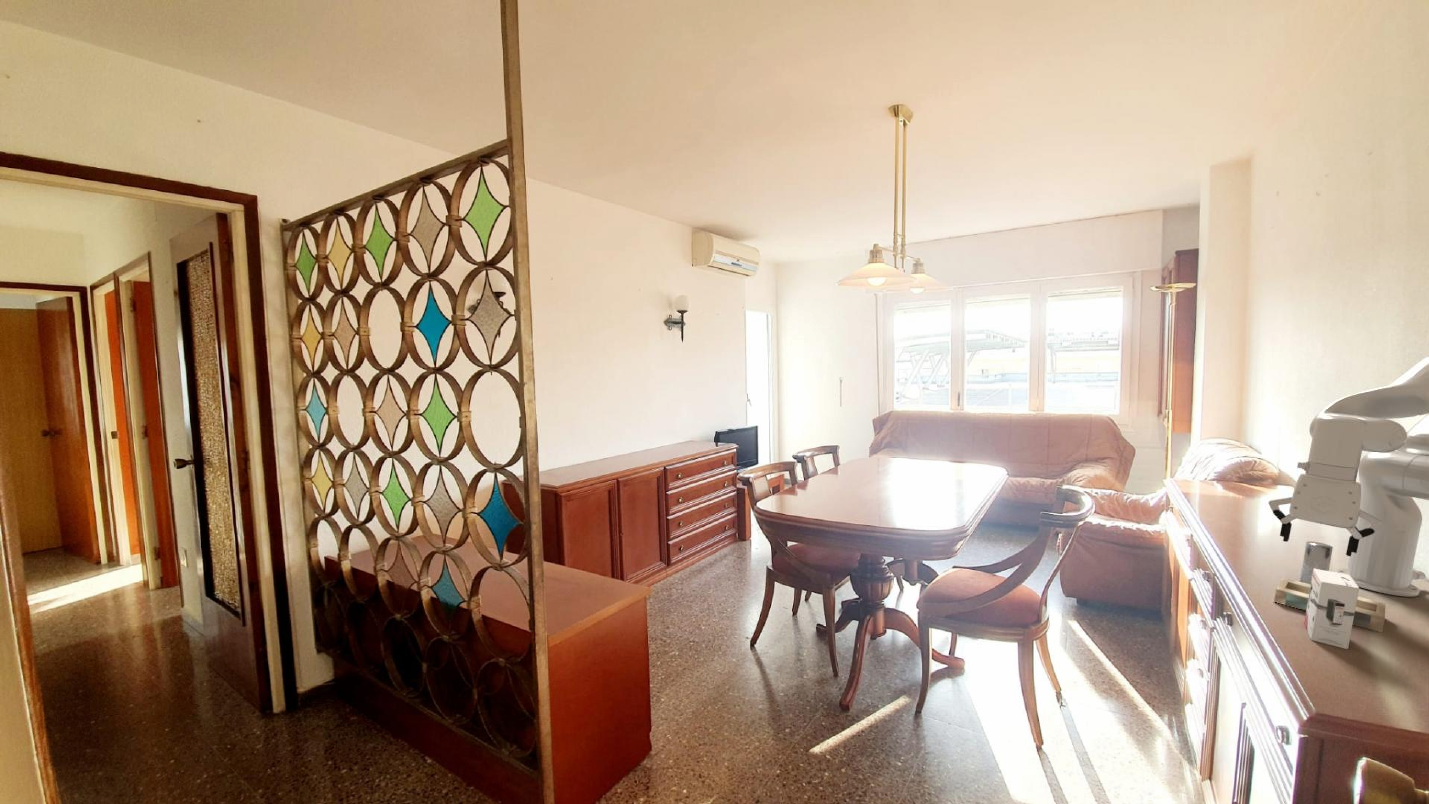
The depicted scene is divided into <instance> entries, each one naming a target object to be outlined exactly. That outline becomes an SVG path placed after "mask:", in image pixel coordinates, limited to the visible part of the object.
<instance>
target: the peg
mask: <svg viewBox="0 0 1429 804" xmlns="http://www.w3.org/2000/svg"><path fill="white" fill-rule="evenodd" d="M1305 543H1306V544H1305V550H1304V555H1303V560H1302V565H1301V566H1302V567H1301V573H1300V578H1299V582H1303V583H1307V584H1311V581H1312V576H1313V569H1314V568H1315V569H1320V570H1325V571H1330V565H1331V560H1332V554H1333V550H1334V547H1333V546H1332V545H1329V544H1326V543H1324V542H1319V541H1311V540H1310V541H1306V542H1305Z"/></svg>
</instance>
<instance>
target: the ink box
mask: <svg viewBox="0 0 1429 804" xmlns="http://www.w3.org/2000/svg"><path fill="white" fill-rule="evenodd" d="M1359 592H1360V587H1358V586H1357V584H1356V583H1355V581H1354V580H1353V579H1352V577H1351V576H1350V575H1348V574H1343V573H1337V571H1331V570H1329V571H1325V570H1320V569H1315V568H1314V569H1313V576H1312V581H1311V587H1310V593H1309V599H1308V604H1307V610H1306V611H1305V615H1304V621H1303V624H1304V626H1305V629H1306V632H1307V633H1308V635H1309V638H1310V639H1311V641H1315V642H1319V643H1321V644H1326V645H1330V646H1333V647H1337V648H1341V649H1345V650H1348V649H1349V647H1350V646H1349V644H1350V640H1351V634H1352V629H1353V628H1352V627H1353V619H1354V613H1355V608H1356V603H1357V598H1358V597H1359Z"/></svg>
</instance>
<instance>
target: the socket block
mask: <svg viewBox="0 0 1429 804" xmlns="http://www.w3.org/2000/svg"><path fill="white" fill-rule="evenodd" d="M1310 587H1311V584H1307V583H1303V582H1300V580H1299V581H1298V580H1294V579H1290V578H1287V577H1282V578H1281V579H1280V581H1279V583H1278V585H1277V587H1276V589H1275V594H1274V598H1273V599H1274V601H1273V603H1274V602H1277V603H1276V604H1278V603H1284V604H1285V605H1287V606H1286V607H1289V606H1293V607H1295V608H1294V609H1296V608H1298V609H1297V610H1299V609H1303V610H1307V604H1308V599H1309V593H1310ZM1285 605H1284V606H1285ZM1386 607H1387V603H1385V602H1382V601H1377V600H1374V599H1371V598H1370V599H1369V598H1365V597H1362V596H1358V598H1357V603H1356V608H1355V613H1354V619H1353V624H1352V626H1357V627H1361V628H1363V629H1368V630H1372V631H1375V632H1378V633H1383V630H1384V624H1385V620H1386ZM1303 610H1302V611H1303Z"/></svg>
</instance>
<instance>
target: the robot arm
mask: <svg viewBox="0 0 1429 804" xmlns="http://www.w3.org/2000/svg"><path fill="white" fill-rule="evenodd" d="M1421 416H1424V417H1423V418H1422V419H1420V420H1419V421H1418V422H1417V423H1416V424H1415V425H1413V426H1412V427H1411V428H1410V429H1409V430H1408V431H1407V430H1406V429H1405V427H1404V426H1403V425H1402V424H1400V423H1399V422H1397V421H1395V420H1392V419H1402V418H1403V419H1404V418H1414V417H1421ZM1309 435H1310V437H1311V443H1310V447H1309V448H1310V449H1309V453H1308V460H1307V461H1305V462H1304V461H1303V462H1298V463H1297V469H1301V470H1304V471H1305V473H1301V474H1300V475H1299V477H1298V479H1297V481H1296V483H1295V486H1294V488H1293V493H1292V496H1290V497H1289V496H1288V497H1283V498H1277V499H1271V500H1269V501H1268V505H1269V507H1270V509H1271V511H1272V513H1273V515H1274V516H1275V517H1276V518H1277V519H1278V520H1279V521H1280V524H1281V528H1280V533H1279V536H1280V537H1283V539H1282V541H1283V542H1285V543H1286V542H1289V540H1290V535H1291V531H1292V524H1293V523H1291V522H1292V521H1295V520H1296V519H1297V520H1300V521H1301V520H1302V521H1305V522H1310V523H1316V524H1320V525H1324V526H1329V527H1335V528H1340V529H1346V530H1347V532H1348V533H1350V536H1349V539H1348V542H1347V543H1348V545H1347V547H1346V548H1347V549H1346V553H1345V556H1347V557H1348V562H1347V567H1346V568H1340V569H1337V570H1336V572H1337V573H1343V574H1348V575H1350V576H1351V577H1352V579H1353V580H1354V581H1355V583H1356V584H1357V586H1358V587H1359V588H1362V589H1365V590H1368V591H1372V592H1378V593H1381V594H1384V595H1385V594H1386V595H1389V596H1391V595H1392V596H1396V597H1408V598H1410V597H1418V596H1420V591H1421V590H1420V589H1419V588H1418V587H1417V586H1416V585H1413V584H1412V583H1413V582H1412V581H1413V580H1424V579H1426V574H1425V573H1424V572H1423V571H1421V570H1413V569H1414V568H1413V567H1414V563H1415V557H1416V552H1417V548H1418V542H1419V537H1420V533H1421V527H1422V523H1423V515H1422V511H1421V509H1420V508H1419V506H1418V504H1417V502H1416V501H1415V500H1414V499H1413V498H1416V499H1420V500H1425V501H1429V356H1427V357H1425V358H1423V359H1422V360H1420V361H1419V362H1417V363H1416V364H1415V365H1414V366H1412V367H1411V368H1409V369H1408V370H1407V371H1406V372H1404V373H1402V375H1400V376H1399V377H1398V378H1396V379H1395V380H1393V381H1392V382H1391V383H1390V384H1388V385H1386V386H1381V387H1376V388H1373V389H1369V390H1365V391H1361V392H1358V393H1357V392H1356V393H1354V394H1351V395H1347V396H1344V397H1342V398H1340V399H1337V400H1334V401H1333V402H1331V403H1330V404H1329V405H1328V406H1326V407H1325V408H1324V409H1322V410H1321V411H1320V412H1319V413H1318V414H1316V415H1315V417H1314V418H1313V419H1312V421H1311V423H1310V425H1309ZM1363 452H1367V453H1366V455H1364V456H1362V454H1363ZM1357 478H1358V480H1359V481H1357ZM1289 504H1290V505H1289ZM1283 505H1289V513H1288V514H1286V515H1285V513H1284V512H1283V511H1282V510H1281V508H1280V507H1279V506H1283Z"/></svg>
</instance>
